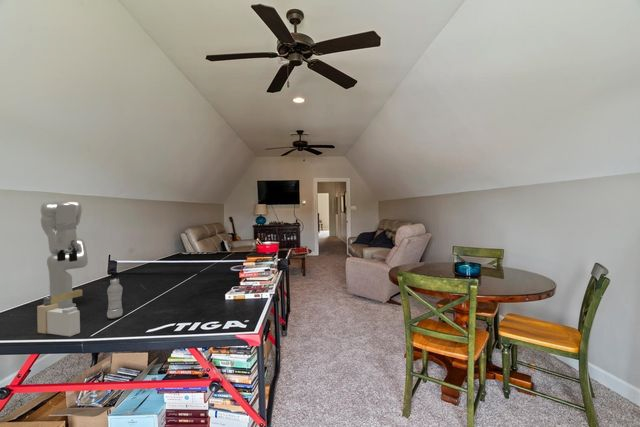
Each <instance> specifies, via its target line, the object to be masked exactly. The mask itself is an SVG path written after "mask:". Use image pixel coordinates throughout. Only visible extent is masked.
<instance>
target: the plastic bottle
mask: <svg viewBox="0 0 640 427" xmlns="http://www.w3.org/2000/svg"><path fill="white" fill-rule="evenodd" d="M109 283H110V285H109V286H108V287H107V290H106V293H107V298H108V299H107V300H108V304H107V312H106V316H107V318H108V319H111V320H112V319H117V318H120V317H122V316H123V313H124V311H123V305H122V295H123V286H122V285H121V284H120V278H116V277H115V278H110V280H109Z"/></svg>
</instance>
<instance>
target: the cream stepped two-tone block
mask: <svg viewBox="0 0 640 427" xmlns="http://www.w3.org/2000/svg"><path fill="white" fill-rule="evenodd" d="M36 310H37V311H36V312H37V313H36V315H37V316H36V317H37V318H36V319H37V320H36V321H37V333H38V334H45V335H46V334H50V335H56V336H57V335H58V336H64V337H72V336H74V335H78V334H80V333H81V318H80V316H81V313H80V310H79V309H78V307H76V306H75V307H70V308H67V309H59V308H58V304H57V303H53V304H50V305H44V304H41V305H37V308H36Z"/></svg>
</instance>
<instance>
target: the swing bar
mask: <svg viewBox="0 0 640 427" xmlns="http://www.w3.org/2000/svg"><path fill="white" fill-rule="evenodd" d="M83 295H84V294H83V289H75V290H72V291H70V292H66V293H62V294H58V295H54V296H50V295H49V296H45V297H43V305H50V304H53V303H56V302H60V301H64V300H68V299H71V298H72V299H74V298H75V299H76V298H78V297H83Z"/></svg>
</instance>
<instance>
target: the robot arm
mask: <svg viewBox="0 0 640 427" xmlns="http://www.w3.org/2000/svg"><path fill="white" fill-rule="evenodd" d="M82 209H83V208H82V204H81V202H79V201H76V200H55V201H52V202H44V203H42V204H41V206H40V213H41V218H40V224H41V228H42V230H43V232H44V234H45V235H46V236H47V240H48V242H47V243H48V249H49V253H50V254H51V255H50V256H48V257H47V260H46V266H47V270H48V276H49V277H48V278H49V297H50V296H54V295H58V294H62V293H66V292H70V291H73V276H72V275H71V273H69V271H67V270H74V269H80V268H82V269H83V268H85V267H86V266H87V265H88V262H89V258H88V254H87V248H86V244H85V243H86V242H85V241H84V240H83V239H82V238H78V237H77V236H78V235H77V226H78V225H80V223H81V217H82V211H83V210H82ZM56 303H57V304H58V308H59V309H67V308H70V307H76V306H77V304H76V303H75V302H74V303H73V298H71V299H68V300H64V301H60V302H56Z"/></svg>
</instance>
